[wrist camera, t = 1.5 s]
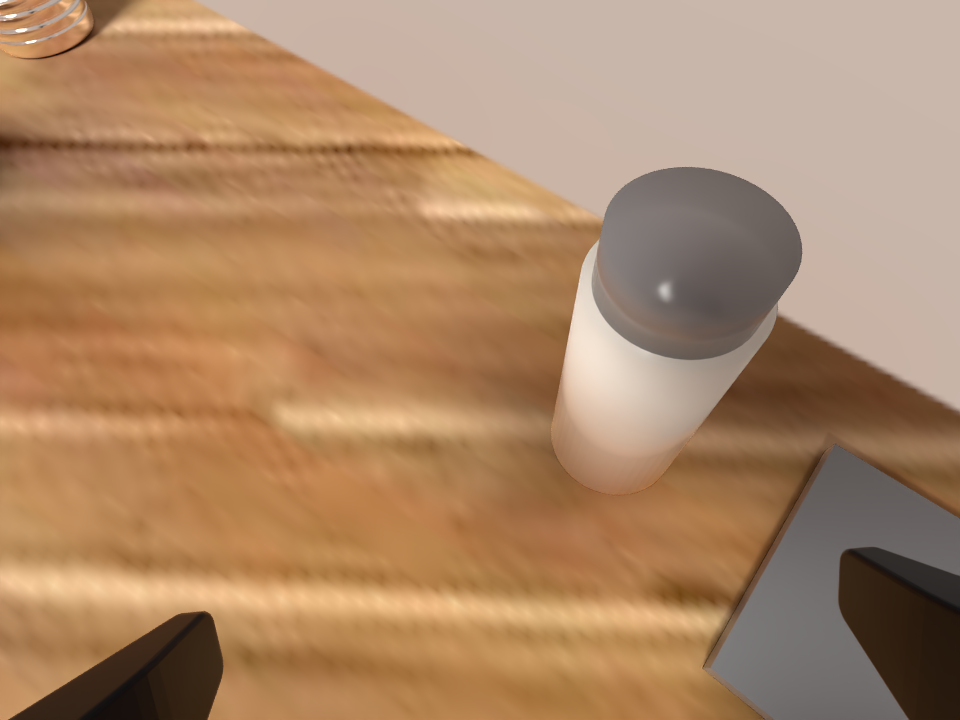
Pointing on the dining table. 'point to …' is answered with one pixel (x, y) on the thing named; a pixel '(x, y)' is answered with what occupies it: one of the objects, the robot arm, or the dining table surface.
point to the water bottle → (43, 26)
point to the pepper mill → (667, 320)
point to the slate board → (825, 596)
